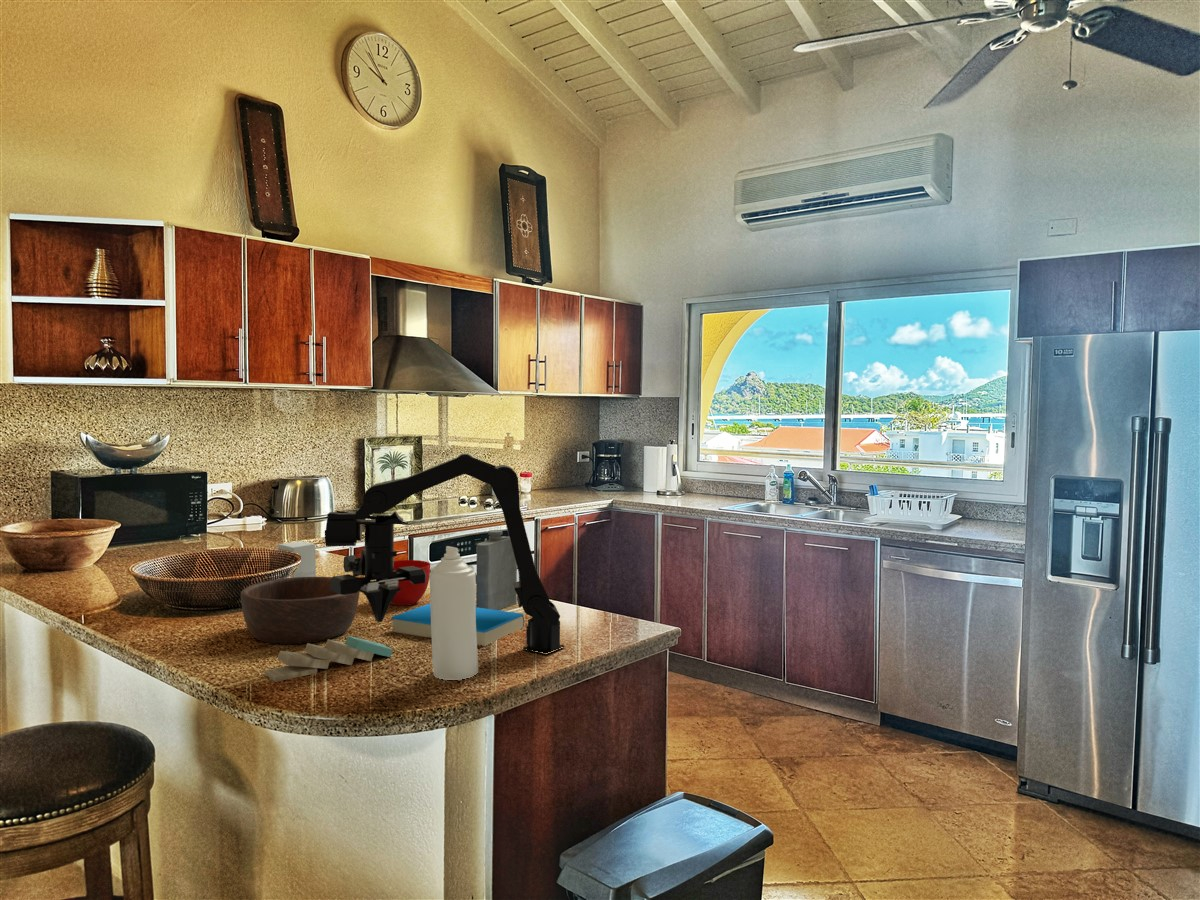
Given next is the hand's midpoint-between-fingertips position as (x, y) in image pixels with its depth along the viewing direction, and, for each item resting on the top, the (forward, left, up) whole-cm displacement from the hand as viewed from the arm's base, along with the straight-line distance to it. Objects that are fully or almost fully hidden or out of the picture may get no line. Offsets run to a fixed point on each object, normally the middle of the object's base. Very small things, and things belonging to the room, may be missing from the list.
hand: (379, 621), depth 165 cm
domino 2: (+4, +13, -7) cm, 16 cm away
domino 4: (+1, +2, -6) cm, 7 cm away
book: (0, -24, -8) cm, 25 cm away
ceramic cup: (+30, -37, -7) cm, 48 cm away
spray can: (-21, 0, -7) cm, 22 cm away
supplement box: (+65, -29, -7) cm, 72 cm away
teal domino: (0, -2, -6) cm, 7 cm away
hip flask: (+6, -44, -7) cm, 45 cm away
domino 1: (+3, +11, -6) cm, 13 cm away
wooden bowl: (+27, -2, -7) cm, 28 cm away
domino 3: (+2, +6, -6) cm, 9 cm away
